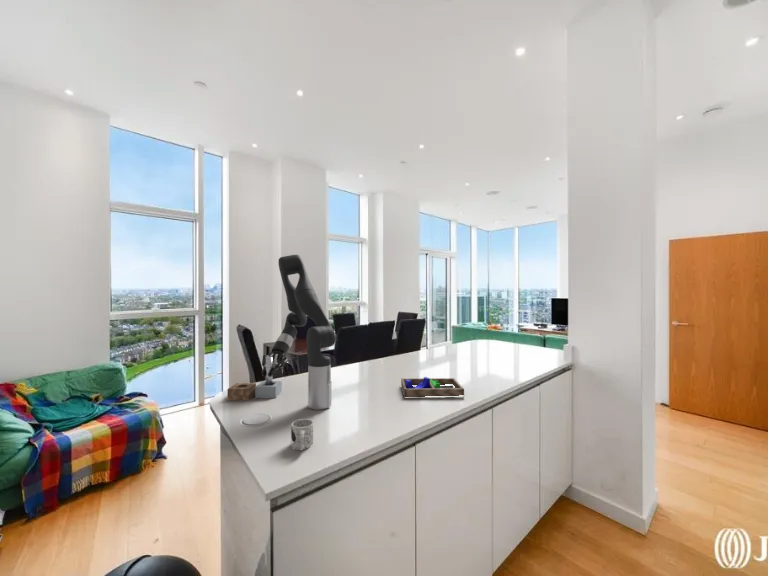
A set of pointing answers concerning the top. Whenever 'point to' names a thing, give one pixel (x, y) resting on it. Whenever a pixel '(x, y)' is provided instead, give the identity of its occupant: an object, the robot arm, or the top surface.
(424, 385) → the cable clip
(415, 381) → the organiser frame
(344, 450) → the top surface
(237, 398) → the wooden square frame
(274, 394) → the socket block
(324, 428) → the top surface
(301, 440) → the mug
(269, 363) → the steel axle
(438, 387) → the pipe clamp
